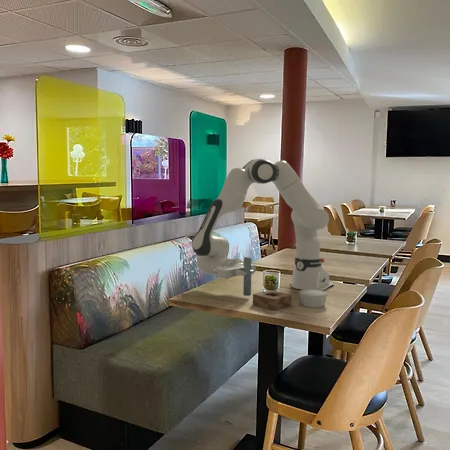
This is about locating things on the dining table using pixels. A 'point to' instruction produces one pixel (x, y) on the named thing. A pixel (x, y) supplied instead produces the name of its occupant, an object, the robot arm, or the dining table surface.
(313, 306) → the ramekin
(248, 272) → the dowel
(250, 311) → the dining table surface
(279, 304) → the wooden candle holder
